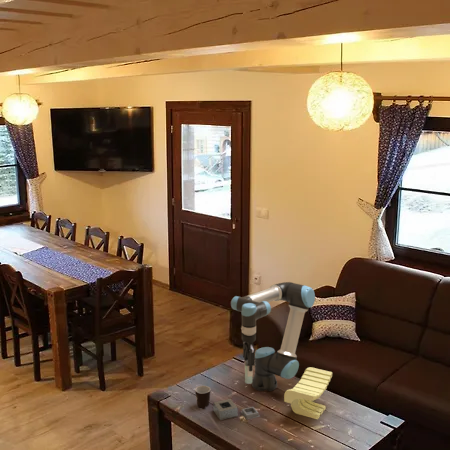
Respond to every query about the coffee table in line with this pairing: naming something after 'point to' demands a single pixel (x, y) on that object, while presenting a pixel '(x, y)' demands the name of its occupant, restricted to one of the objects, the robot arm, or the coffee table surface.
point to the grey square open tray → (250, 413)
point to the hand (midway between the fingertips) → (248, 373)
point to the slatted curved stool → (309, 392)
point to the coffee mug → (202, 396)
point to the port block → (225, 409)
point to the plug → (247, 379)
